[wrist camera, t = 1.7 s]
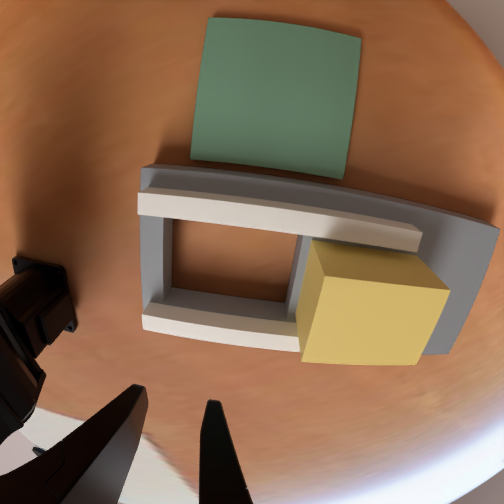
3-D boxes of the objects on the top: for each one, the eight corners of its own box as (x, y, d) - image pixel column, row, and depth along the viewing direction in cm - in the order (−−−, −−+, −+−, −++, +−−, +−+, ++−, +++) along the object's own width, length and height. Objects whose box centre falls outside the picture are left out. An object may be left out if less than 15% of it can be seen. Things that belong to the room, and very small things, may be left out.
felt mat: (192, 158, 17) (189, 159, 17) (210, 20, 14) (208, 17, 13) (340, 178, 17) (342, 179, 17) (358, 41, 14) (361, 38, 13)
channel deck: (153, 312, 22) (137, 340, 19) (153, 163, 18) (130, 171, 14) (439, 340, 22) (455, 365, 19) (485, 220, 18) (512, 236, 14)
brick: (295, 313, 19) (301, 361, 15) (311, 239, 17) (324, 276, 13) (392, 321, 19) (415, 364, 15) (416, 255, 17) (450, 290, 13)
